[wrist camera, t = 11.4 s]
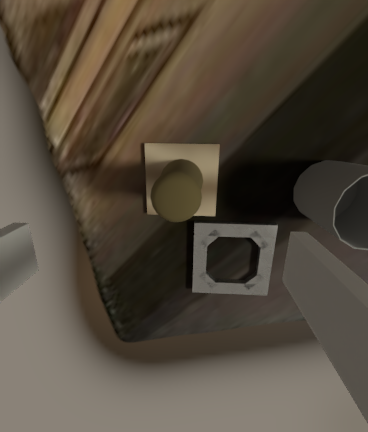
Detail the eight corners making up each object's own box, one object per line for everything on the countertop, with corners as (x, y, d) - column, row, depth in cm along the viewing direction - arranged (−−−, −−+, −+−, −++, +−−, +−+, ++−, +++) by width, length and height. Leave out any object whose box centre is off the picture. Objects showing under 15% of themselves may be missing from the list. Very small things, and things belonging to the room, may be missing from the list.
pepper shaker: (202, 202, 33) (206, 231, 23) (160, 201, 33) (145, 230, 23) (203, 158, 31) (207, 168, 21) (159, 158, 31) (141, 168, 21)
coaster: (145, 143, 31) (144, 143, 31) (219, 144, 31) (219, 144, 30) (148, 212, 35) (147, 214, 34) (214, 214, 34) (215, 216, 34)
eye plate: (194, 220, 35) (194, 222, 34) (275, 223, 34) (277, 225, 33) (192, 288, 38) (192, 292, 37) (265, 291, 38) (267, 295, 37)
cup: (299, 226, 34) (339, 259, 25) (286, 173, 32) (325, 188, 22) (359, 207, 33) (426, 235, 23) (350, 151, 30) (420, 156, 21)
